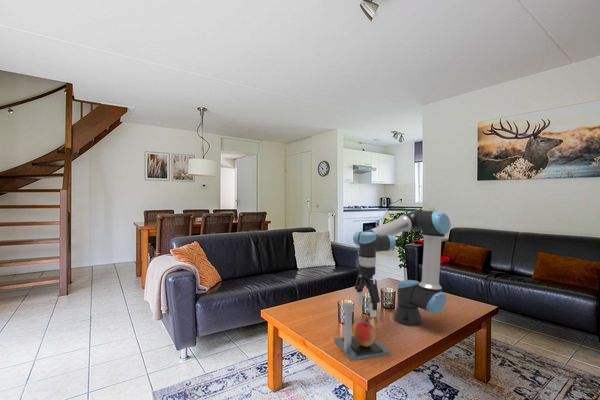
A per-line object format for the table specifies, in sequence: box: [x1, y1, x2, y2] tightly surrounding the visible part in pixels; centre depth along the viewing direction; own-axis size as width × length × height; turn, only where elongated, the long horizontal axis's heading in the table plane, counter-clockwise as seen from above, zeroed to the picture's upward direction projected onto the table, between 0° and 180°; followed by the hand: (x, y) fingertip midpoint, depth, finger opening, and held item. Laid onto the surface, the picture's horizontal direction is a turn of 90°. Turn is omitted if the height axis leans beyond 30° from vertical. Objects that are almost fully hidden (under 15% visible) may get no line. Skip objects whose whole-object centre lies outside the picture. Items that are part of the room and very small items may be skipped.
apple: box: [353, 321, 377, 347], centre depth 138 cm, size 10×10×10 cm
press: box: [333, 302, 392, 362], centre depth 140 cm, size 21×18×22 cm
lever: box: [362, 314, 371, 324], centre depth 148 cm, size 4×3×11 cm
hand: (366, 311), depth 138 cm, fingers open, 13 cm apart
